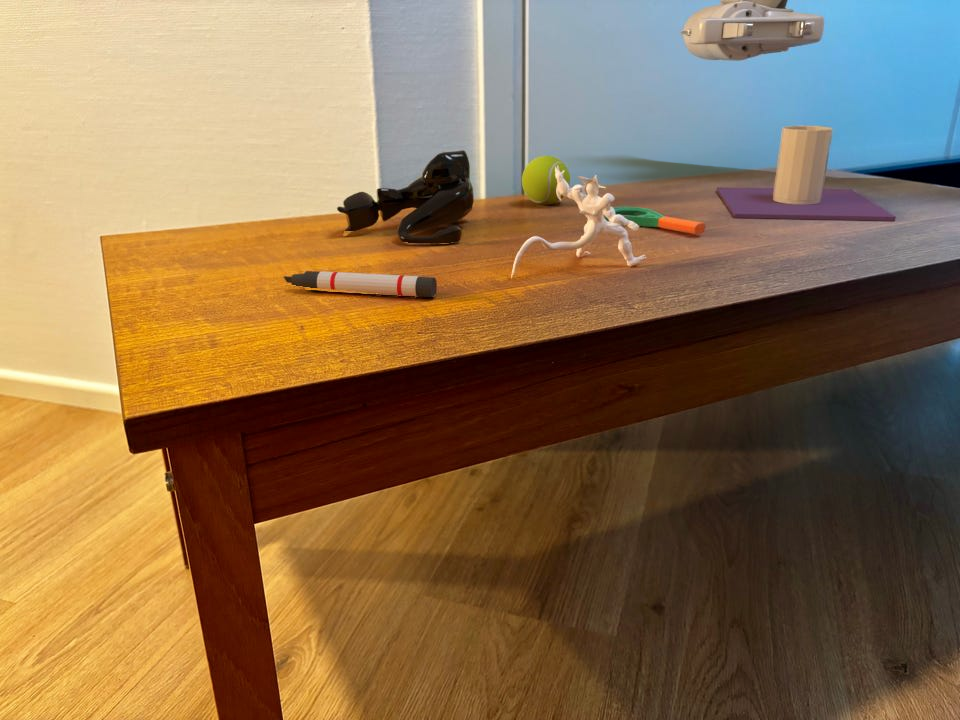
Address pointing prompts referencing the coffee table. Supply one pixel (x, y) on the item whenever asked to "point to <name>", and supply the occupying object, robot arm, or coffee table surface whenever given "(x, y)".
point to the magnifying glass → (658, 220)
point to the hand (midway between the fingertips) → (779, 29)
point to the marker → (367, 283)
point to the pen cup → (802, 164)
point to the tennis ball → (543, 179)
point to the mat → (802, 206)
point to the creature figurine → (589, 221)
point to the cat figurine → (420, 201)
